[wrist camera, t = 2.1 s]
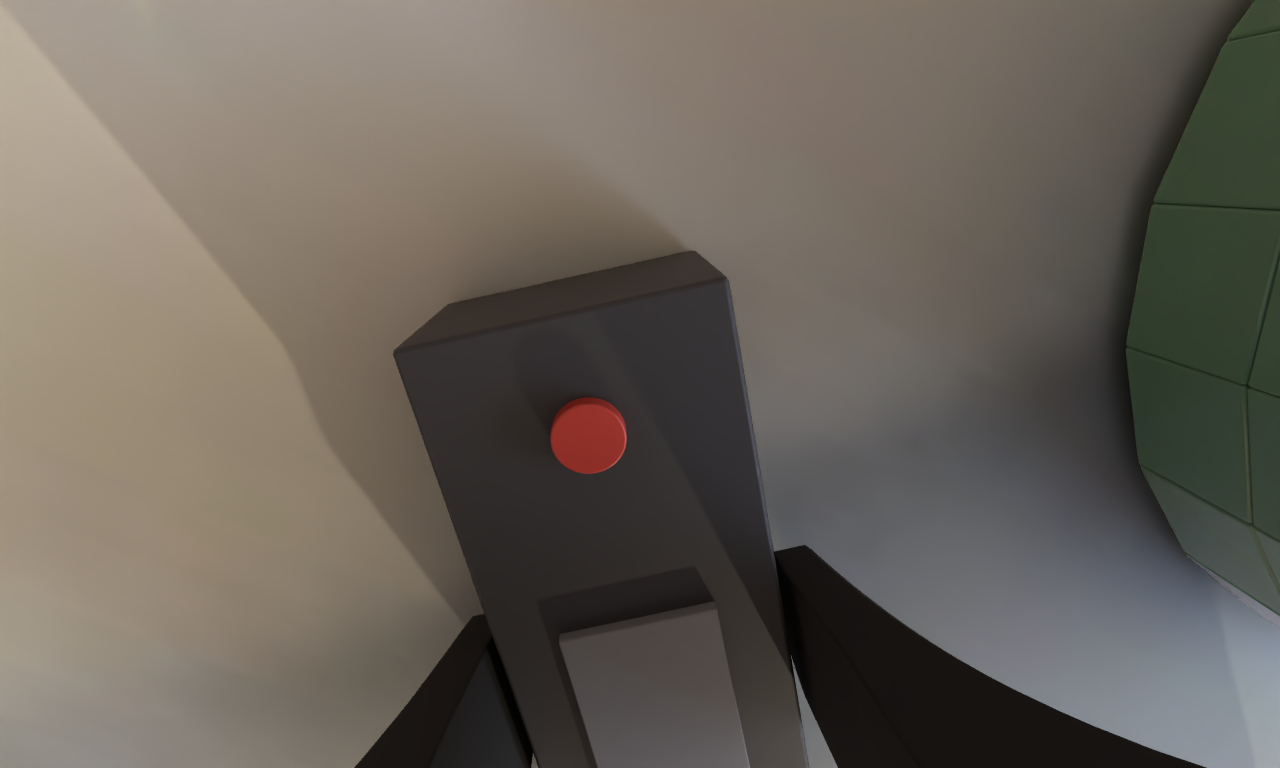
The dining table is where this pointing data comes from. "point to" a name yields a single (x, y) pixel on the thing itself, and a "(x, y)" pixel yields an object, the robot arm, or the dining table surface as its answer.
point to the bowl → (1218, 324)
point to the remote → (614, 515)
